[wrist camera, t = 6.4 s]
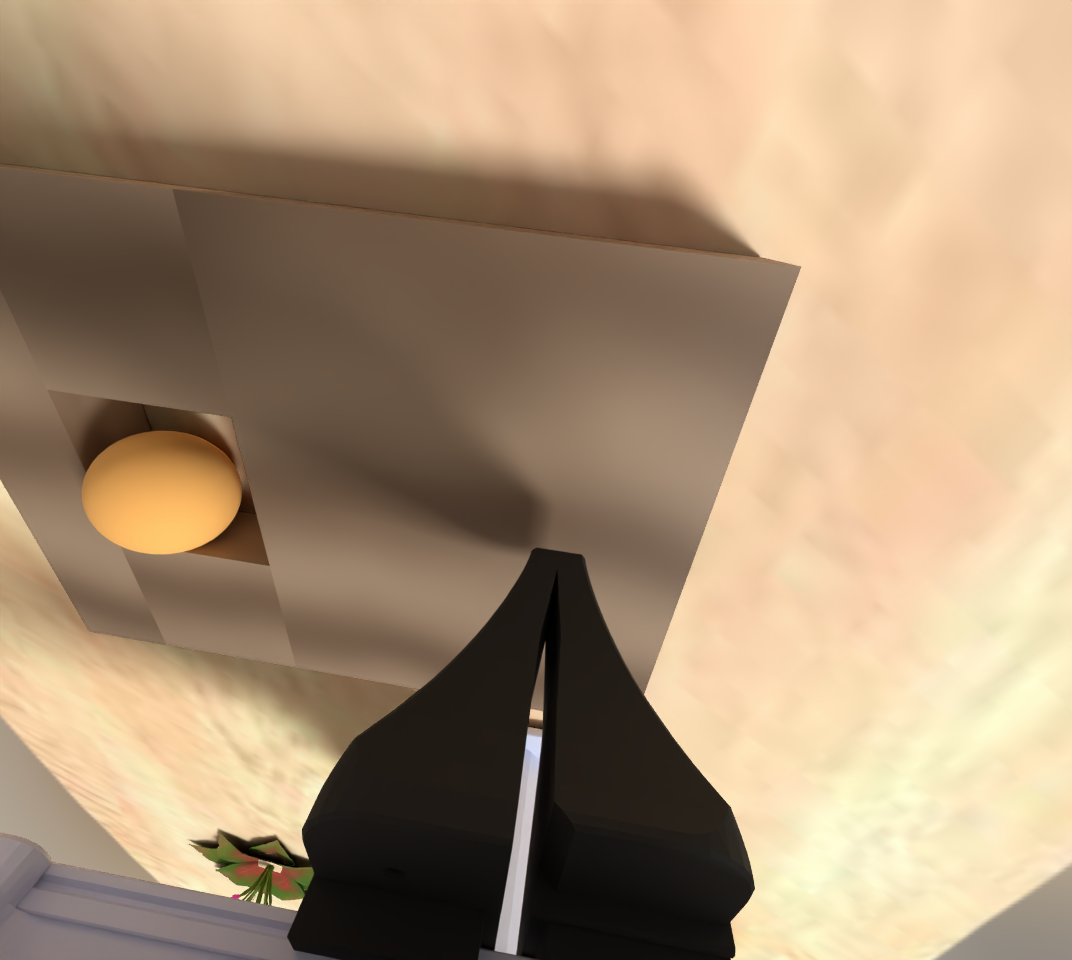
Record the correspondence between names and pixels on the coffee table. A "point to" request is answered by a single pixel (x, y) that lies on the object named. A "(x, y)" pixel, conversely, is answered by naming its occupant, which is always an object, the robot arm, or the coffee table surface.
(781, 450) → the coffee table surface
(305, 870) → the lily flower
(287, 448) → the plate
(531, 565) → the robot arm
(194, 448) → the ball
